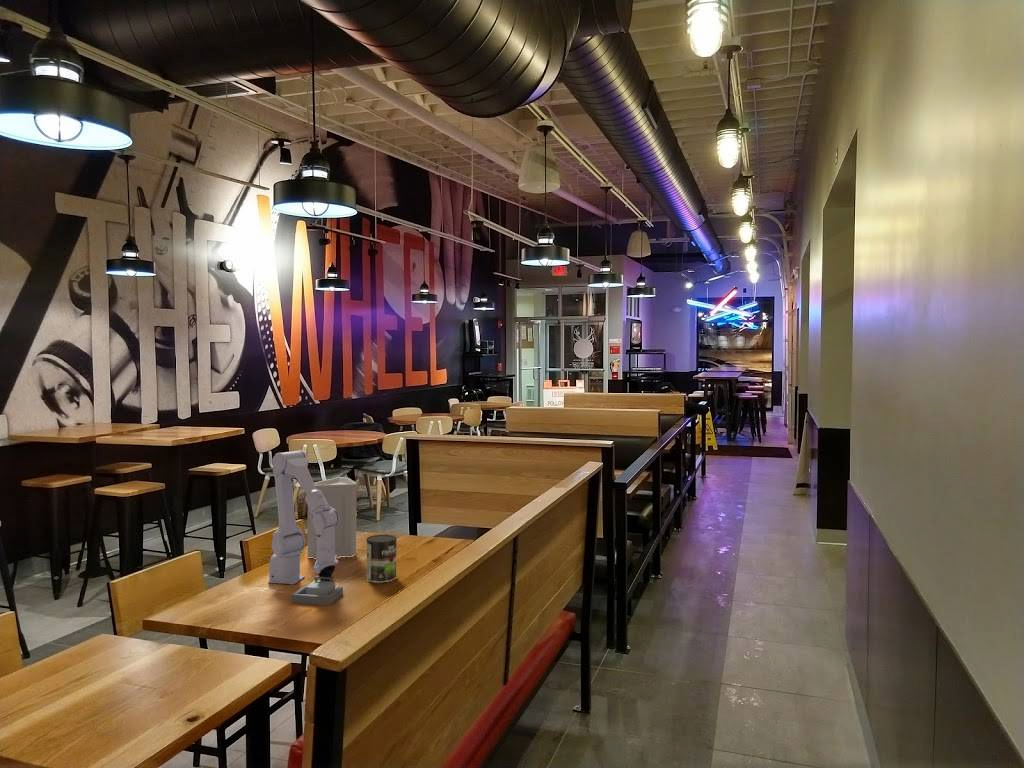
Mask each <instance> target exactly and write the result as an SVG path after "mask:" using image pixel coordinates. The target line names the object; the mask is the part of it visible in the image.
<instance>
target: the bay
mask: <svg viewBox="0 0 1024 768" xmlns="http://www.w3.org/2000/svg"><path fill="white" fill-rule="evenodd" d="M309 584H310V583H309ZM309 584H307V583H306V584H304V585H302V587H300V588H299V589H297V590H296V591H295V592H293V593H292V594H291V604H302V605H303V604H304V605H305V604H306V605H317V606H319V605H320V606H331V605H332V604H333V603H334V602H336V601H337V600H338V599H339V598H340V597H342V596H343V594H344V593H343V592H344V590H343V589H344V586H338V587H337V588H335V590H334V591H333V592H332V593H330V594H329V595H328V596H323V595H309V594H306V587H307V586H308V585H309ZM336 599H337V600H336Z"/></svg>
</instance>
